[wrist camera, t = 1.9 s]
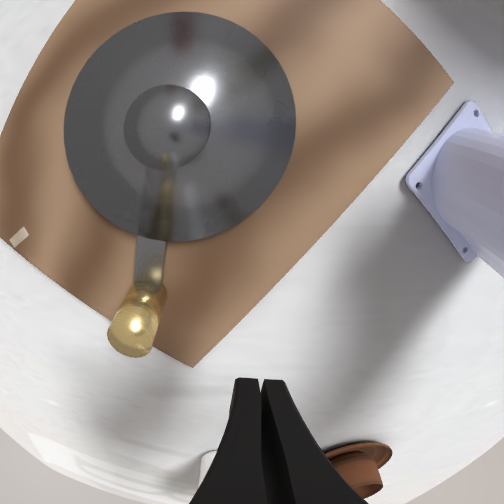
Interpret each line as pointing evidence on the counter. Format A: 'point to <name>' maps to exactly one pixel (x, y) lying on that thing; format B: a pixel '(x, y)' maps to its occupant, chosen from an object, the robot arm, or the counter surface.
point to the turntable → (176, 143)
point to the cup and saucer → (361, 465)
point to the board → (276, 205)
